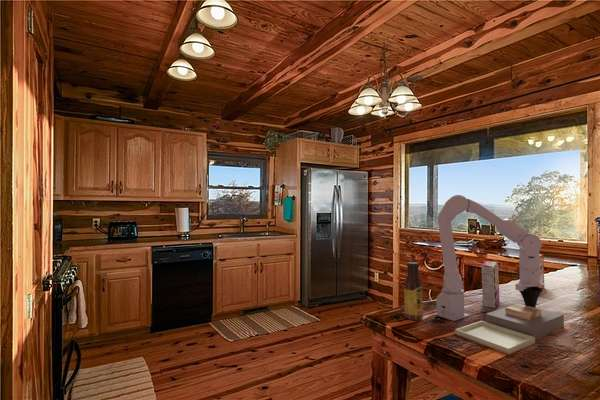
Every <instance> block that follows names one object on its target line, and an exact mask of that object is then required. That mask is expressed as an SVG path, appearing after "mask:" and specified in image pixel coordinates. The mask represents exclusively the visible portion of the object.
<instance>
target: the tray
mask: <svg viewBox="0 0 600 400" xmlns="http://www.w3.org/2000/svg"><path fill="white" fill-rule="evenodd" d="M454 335H456V336H458V337H460V338H464V339H466V340H469V341H471V342H475V343H476V344H480V345H482V346H485V347H488V348H491V349H493V350H496V351H498V352H500V353H504V354H506V355H511V354H513V353H516V352H518V351H520V350H522V349H524V348H527V347H529V346H531V345H533V344H536V340H535V337H533V336H529V335H526V334H523V333H520V332H516V331H513V330H510V329H507V328H503V327H500V326H497V325H494V324H491V323H487V322H486V321H484V320H479V321H476V322H473V323H469V324H467V325H465V326H461V327H457V328H455V329H454Z"/></svg>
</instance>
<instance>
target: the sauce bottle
mask: <svg viewBox="0 0 600 400" xmlns="http://www.w3.org/2000/svg"><path fill="white" fill-rule="evenodd" d="M406 266H407V276H406V277H405V279H404V290H403V291H404V294H403V295H404V314H405V316H404V317H405V318H406V319H408V320H412V321H420V320H422V319H423V316H424V300H423V299H424V296H423V294H424V292H423V283H422V280H421V277H420V275H419V268H420V264H419V262H417V261H415V262H414V261H410V262H409V261H408V262H407V263H406Z"/></svg>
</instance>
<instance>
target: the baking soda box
mask: <svg viewBox="0 0 600 400" xmlns="http://www.w3.org/2000/svg"><path fill="white" fill-rule="evenodd" d="M539 256H540V279H544V280H545V267H544V266H545V262H544V260H545V259H544V256H545V255H544V254H541V253H539ZM537 287H538V288H542V290H544V288H545V285H544V286H537Z"/></svg>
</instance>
